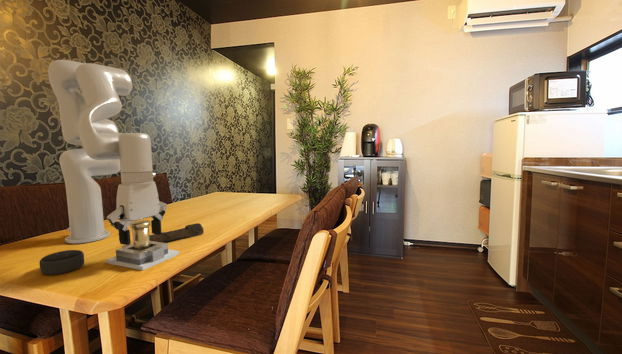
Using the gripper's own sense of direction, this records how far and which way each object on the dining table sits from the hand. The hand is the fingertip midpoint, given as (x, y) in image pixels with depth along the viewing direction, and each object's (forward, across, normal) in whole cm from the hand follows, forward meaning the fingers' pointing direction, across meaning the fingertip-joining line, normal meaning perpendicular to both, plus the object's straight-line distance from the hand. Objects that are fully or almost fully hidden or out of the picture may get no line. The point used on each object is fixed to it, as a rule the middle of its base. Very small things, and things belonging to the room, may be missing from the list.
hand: (141, 238), depth 81 cm
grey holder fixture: (+5, 0, -1) cm, 5 cm away
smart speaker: (+7, +11, -15) cm, 20 cm away
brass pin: (+5, 0, 0) cm, 5 cm away
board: (+6, -1, -1) cm, 6 cm away
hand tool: (+7, -18, -6) cm, 20 cm away
